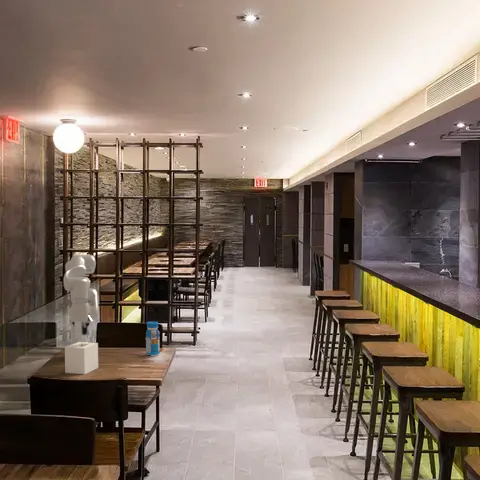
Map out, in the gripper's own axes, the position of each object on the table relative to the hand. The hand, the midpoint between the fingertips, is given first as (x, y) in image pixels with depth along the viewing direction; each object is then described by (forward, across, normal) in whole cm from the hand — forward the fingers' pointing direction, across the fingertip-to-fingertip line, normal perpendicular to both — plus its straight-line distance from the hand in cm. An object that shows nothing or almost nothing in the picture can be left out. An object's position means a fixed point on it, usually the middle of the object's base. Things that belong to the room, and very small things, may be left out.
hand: (81, 333), depth 322 cm
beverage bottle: (+20, +22, +44) cm, 53 cm away
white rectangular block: (+2, 0, 0) cm, 2 cm away
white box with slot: (+20, 0, 0) cm, 20 cm away
